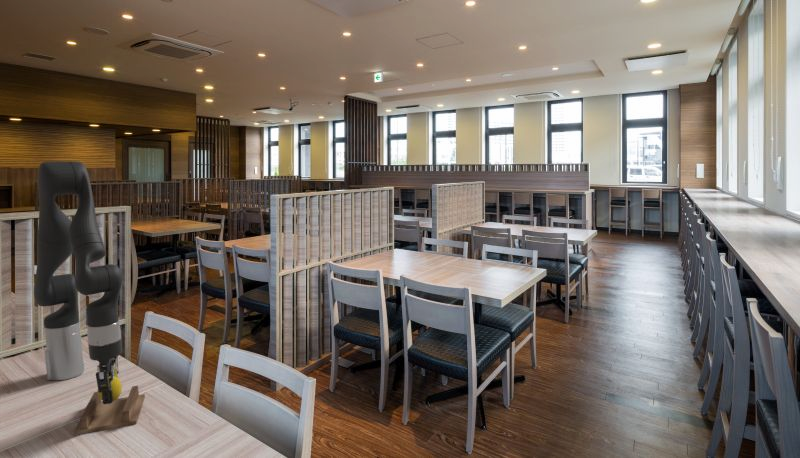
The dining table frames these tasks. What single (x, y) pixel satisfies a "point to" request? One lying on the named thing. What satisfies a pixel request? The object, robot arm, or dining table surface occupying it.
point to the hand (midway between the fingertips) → (110, 397)
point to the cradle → (110, 413)
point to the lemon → (114, 389)
